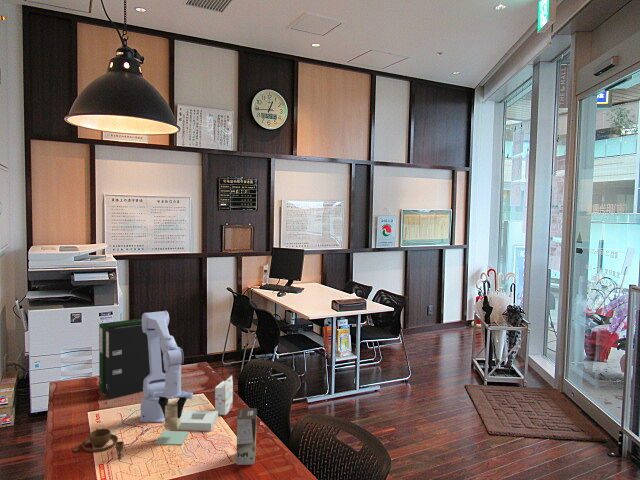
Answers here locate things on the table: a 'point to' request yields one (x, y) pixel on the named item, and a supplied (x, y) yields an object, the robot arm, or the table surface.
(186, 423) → the pocket holder
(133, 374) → the binder
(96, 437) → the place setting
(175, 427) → the maple peg
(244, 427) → the coffee box
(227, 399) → the ink cartridge box
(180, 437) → the rubber mat
